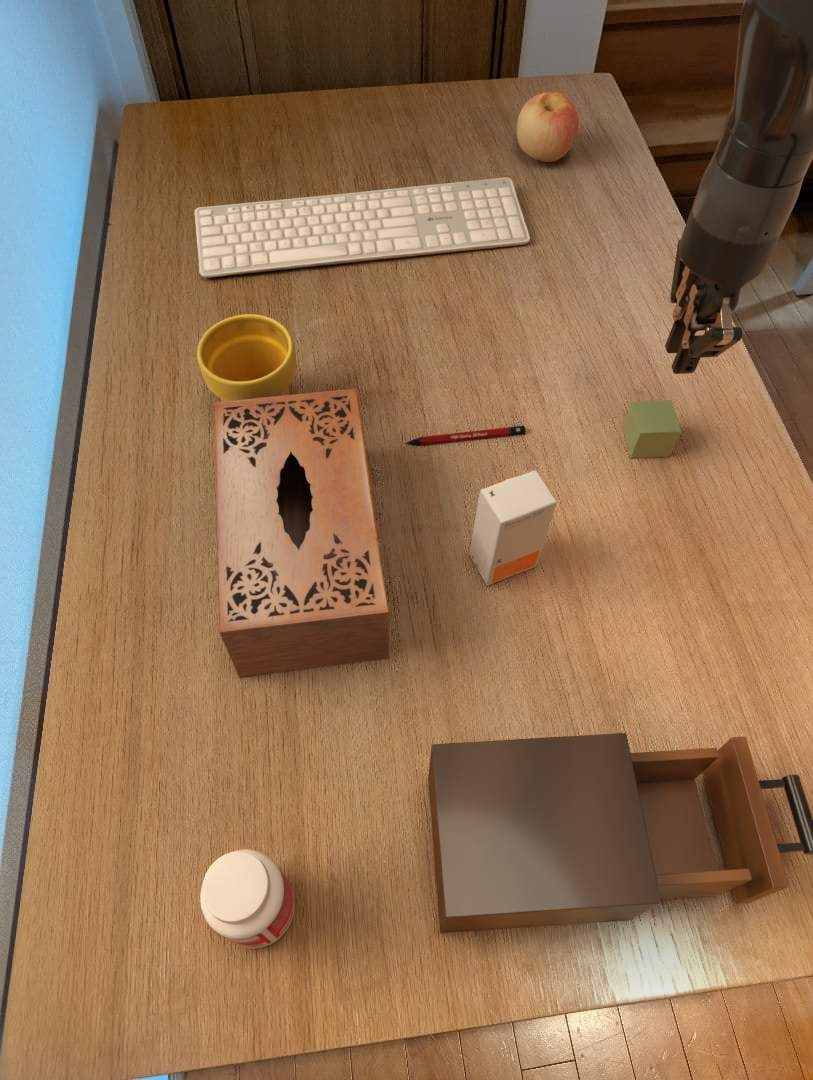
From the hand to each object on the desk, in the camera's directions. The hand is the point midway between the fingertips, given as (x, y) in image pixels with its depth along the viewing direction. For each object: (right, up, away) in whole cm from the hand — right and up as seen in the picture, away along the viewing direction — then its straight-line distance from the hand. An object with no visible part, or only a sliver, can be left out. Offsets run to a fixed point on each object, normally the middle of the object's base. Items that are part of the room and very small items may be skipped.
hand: (678, 359), depth 82 cm
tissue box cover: (-38, -20, +3) cm, 43 cm away
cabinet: (-17, -44, -12) cm, 49 cm away
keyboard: (-33, +24, +30) cm, 51 cm away
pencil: (-21, -7, +12) cm, 25 cm away
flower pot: (-45, -3, +14) cm, 47 cm away
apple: (-7, +39, +40) cm, 56 cm away
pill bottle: (-39, -48, -15) cm, 64 cm away
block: (0, -7, +11) cm, 13 cm away
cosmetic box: (-17, -20, +3) cm, 27 cm away
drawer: (-4, -43, -12) cm, 45 cm away
